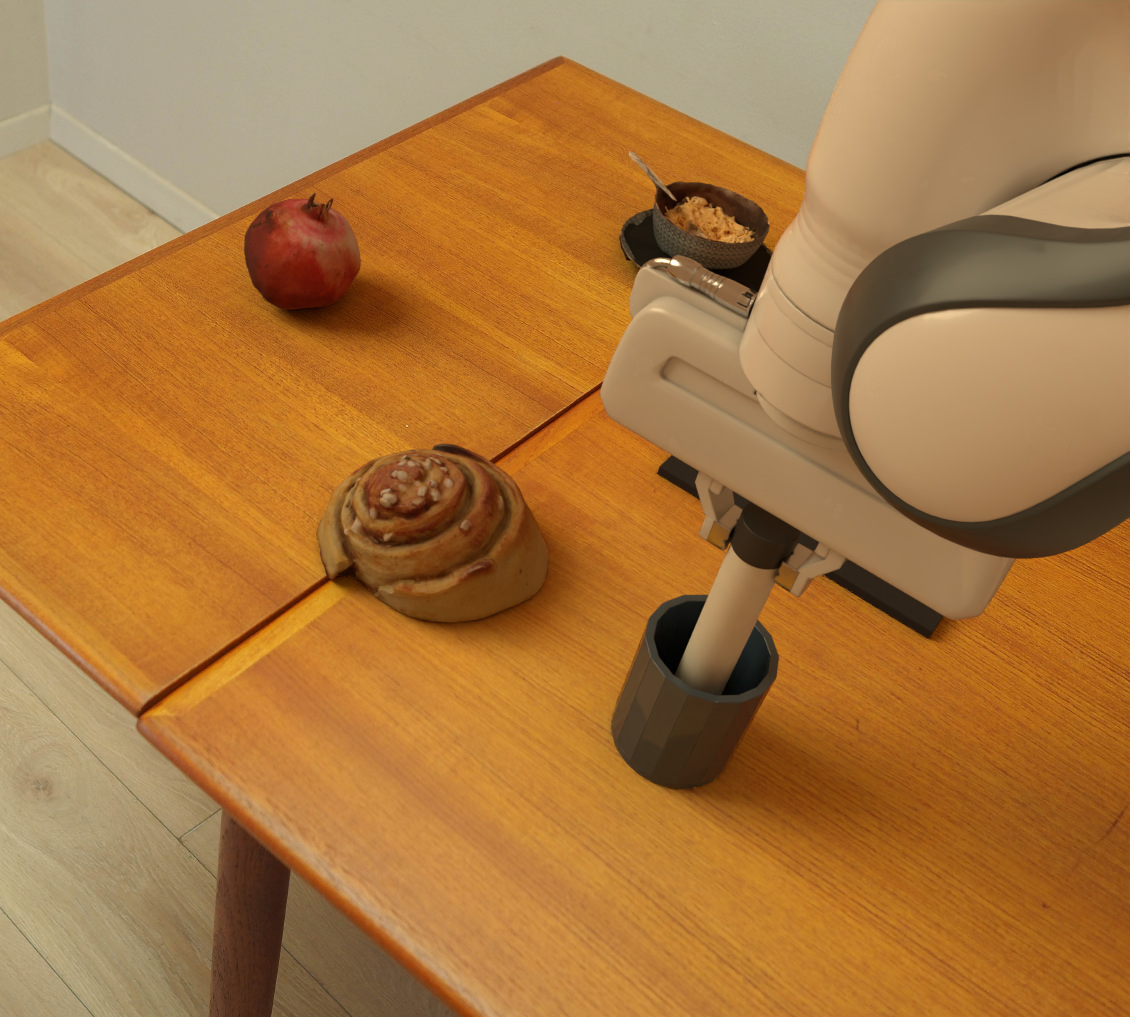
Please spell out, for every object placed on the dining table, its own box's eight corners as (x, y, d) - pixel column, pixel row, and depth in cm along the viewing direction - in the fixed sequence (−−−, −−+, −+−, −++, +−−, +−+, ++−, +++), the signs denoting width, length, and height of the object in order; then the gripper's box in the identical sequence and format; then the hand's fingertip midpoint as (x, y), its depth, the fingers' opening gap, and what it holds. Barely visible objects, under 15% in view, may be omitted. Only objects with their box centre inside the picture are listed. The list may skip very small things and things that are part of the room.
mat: (1018, 504, 88) (1023, 497, 88) (928, 639, 78) (933, 631, 77) (769, 368, 97) (772, 361, 96) (656, 473, 86) (659, 465, 86)
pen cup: (752, 733, 71) (801, 645, 64) (691, 813, 66) (737, 727, 60) (652, 664, 74) (689, 573, 67) (587, 736, 69) (620, 647, 63)
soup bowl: (682, 328, 99) (706, 255, 94) (578, 229, 108) (595, 157, 103) (809, 290, 106) (837, 220, 100) (700, 200, 114) (722, 131, 109)
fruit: (220, 292, 95) (217, 184, 88) (303, 250, 101) (306, 146, 93) (298, 345, 92) (301, 237, 84) (380, 298, 97) (389, 194, 90)
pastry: (293, 507, 79) (295, 421, 74) (488, 462, 85) (504, 378, 79) (363, 655, 71) (372, 572, 66) (573, 595, 77) (598, 513, 71)
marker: (731, 686, 66) (813, 520, 57) (705, 718, 65) (785, 552, 55) (688, 657, 68) (760, 489, 58) (661, 687, 66) (730, 520, 56)
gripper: (608, 265, 51) (553, 487, 60) (1061, 504, 43) (913, 714, 53) (682, 214, 54) (619, 431, 64) (1110, 426, 46) (963, 635, 56)
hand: (754, 560), depth 58 cm, fingers closed on marker, 3 cm apart
